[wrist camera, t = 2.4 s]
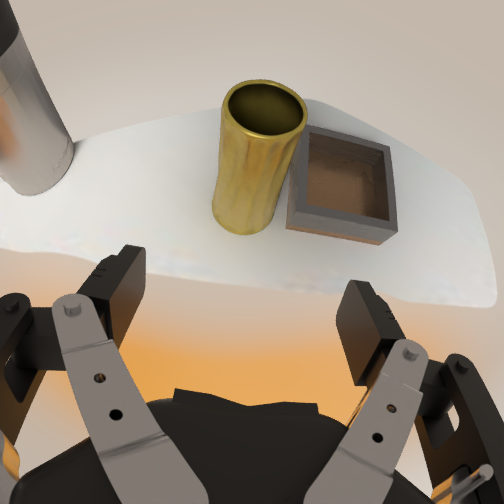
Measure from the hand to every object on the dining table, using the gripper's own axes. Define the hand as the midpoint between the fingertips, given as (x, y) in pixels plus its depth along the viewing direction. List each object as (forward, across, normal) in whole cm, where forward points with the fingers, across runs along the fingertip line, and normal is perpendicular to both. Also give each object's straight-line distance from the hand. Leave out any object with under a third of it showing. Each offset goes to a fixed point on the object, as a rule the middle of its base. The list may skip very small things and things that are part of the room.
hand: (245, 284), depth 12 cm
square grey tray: (+22, -10, +1) cm, 24 cm away
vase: (+20, 0, +4) cm, 20 cm away
